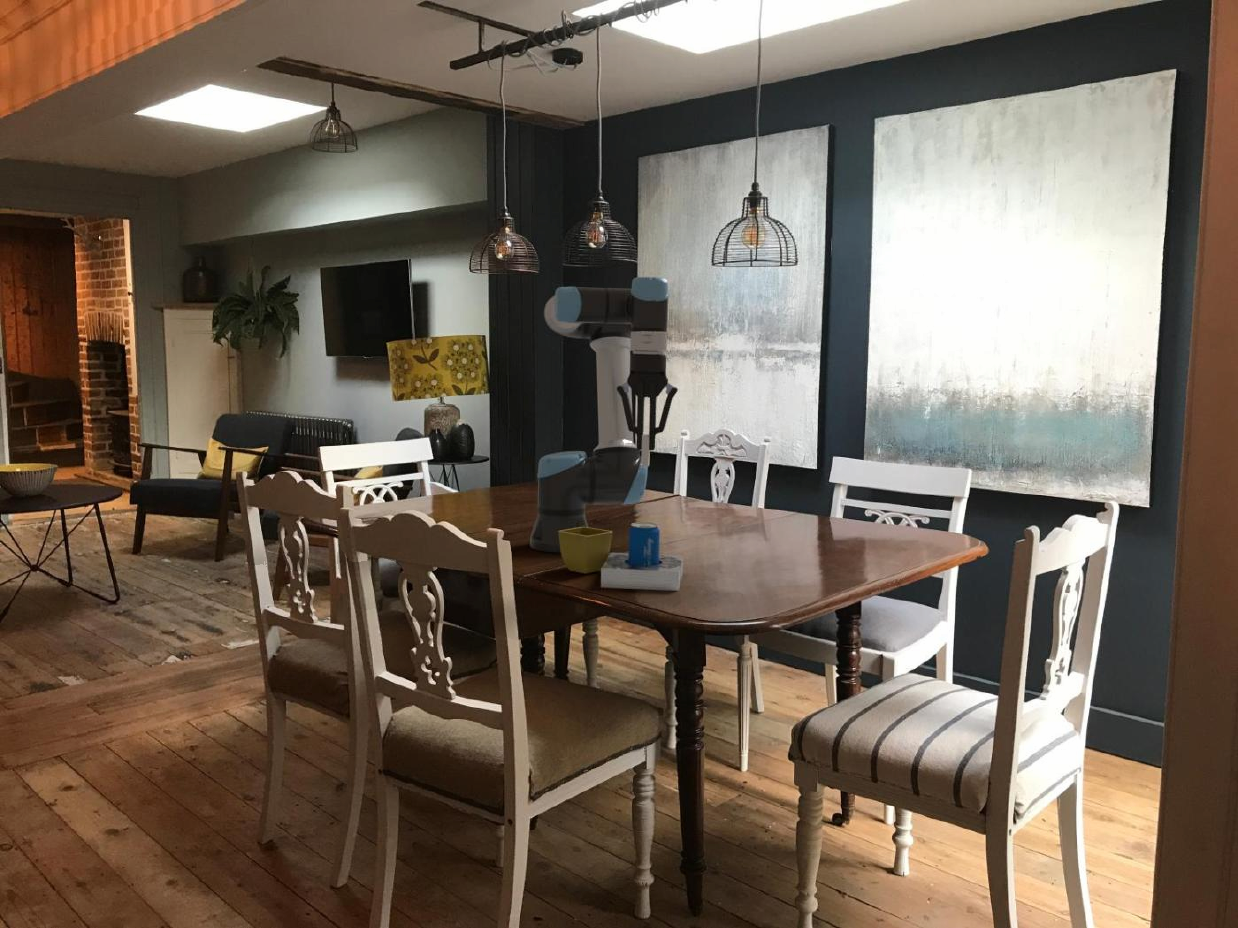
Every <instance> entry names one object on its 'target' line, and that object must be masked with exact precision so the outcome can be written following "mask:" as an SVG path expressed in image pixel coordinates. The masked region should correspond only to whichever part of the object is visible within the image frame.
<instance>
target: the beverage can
mask: <svg viewBox="0 0 1238 928" xmlns="http://www.w3.org/2000/svg"><path fill="white" fill-rule="evenodd" d="M630 526H631V527H630V528H629V531H628V553H629V557H628V564H631V565H636V566H653V565H659V555H660V537H661V536H660V535H661V533H660V531H661V530H660V529H659V527H658V526H659V525H658V524H657V523H653V522H633V523H631V525H630Z"/></svg>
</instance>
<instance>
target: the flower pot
mask: <svg viewBox="0 0 1238 928" xmlns="http://www.w3.org/2000/svg"><path fill="white" fill-rule="evenodd" d="M558 533H559V542H560V550H561V553H560V555H561V558H562V561H563V562H564V564H565V566H566V568H567V569H568V571H571V572H576V573H581V574H584V575H586V574H590V573H594V572H599V571H600V572H601V568H602V566H603V565H604V563H605V561H606V559H607V558H608V556H609V554H610V553H611V552H610V551H611V546H612V545H611V544H612V539H613V534H614V533H613V531H612V530H605V529H600V528H595V527H589V526H588V527H578V528H572V529H567V530H561V531H558Z"/></svg>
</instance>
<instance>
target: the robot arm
mask: <svg viewBox="0 0 1238 928" xmlns="http://www.w3.org/2000/svg"><path fill="white" fill-rule="evenodd" d="M631 282H632V283H631V288H619V287H618V288H616V287H615V288H614V287H613V288H612V287H607V288H606V287H604V288H603V287H583V286H581V287H580V286H579V287H578V286H577V287H576V286H573V285H572V286H560V287H559V286H558V287H557V288H556V290H555V292H554V293H555V294H554V295H553V296H551V297H550V298H549V299H548V300H547V302H546V304H545V305H544V309H543V317H544V318H543V319H544V321H545V323H546V325H547V326H548V327H549V329H550V330H552V332H555V333H558V334H559V335H561V336H565V337H567V338H572V339H573V338H575V339H589V346H590V348H591V349H592V350H593V351H594V352H595V353H596V355H595V356H596V357H595V358H596V388H597V390H596V392H597V420H598V422H597V424H598V426H597V427H598V444H597V446H596V447H595V448H594V449H593V452H592V456H590V457H588V455H587V453H586V452H585V451H584V450H583V451H582V450H570V451H568V450H567V451H562V452H561V451H560V452H555V453H550V454H546V455H544V456H542V457H541V458H540V459H539V462H538V467H537V468H538V469H537V489H538V490H537V515H536V516H537V517H536V520H535V523H534V526H533V529H532V531H531V535H530V538H529V539H530V540H529V541H530V542H529V545H530V548H531V549H533V550H535V551H540V552H544V553H546V552H547V553H560V554H561V550H560V542H559V533H558V531H561V530H567V529H572V528H578V527H589V525H588V521H587V519H586V505H621V506H624V505H634V504H638V503H639V502H640V501H642V499H643V496H644V494H645V491H646V487H647V479H648V470H649V469H648V468H649V466H650V462H651V461H650V458H651V457H650V454H651V452H650V451H655V448H656V436H657V435H658V434H660V433H663V432H664V431H665V429H666V424H667V420H668V417H669V413H670V410H671V406H672V402H673V399H674V397H675V395H676V394H677V393H678V391H679V389H678V387H676V386H674V385H672V384H671V383H670V382H669V378H668V377H667V372H666V371H667V356H666V354H664V353H665V352H667V351H668V350H667V346H668V345H667V343H668V310H669V309H668V308H669V307H668V304H669V297H670V294H669V282H668V280H667V279H666V278H665V277H655V276H637V277H635V278H633V280H632V281H631ZM631 352H632V353H631ZM665 388H666V389H665ZM664 389H665V393H666V395H667V396H666V398H665V401H664V405H663V409H662V412H661V415H660V416H661V417H660V420H659V423H658V426H657V398H658V396H660V395H661V393H662V392H663V391H664ZM632 392H633V393H634V395H635V396H636V397H637V398H636V401H637V403H636V404H637V407H636V409H637V412H636V414H637V415H636V425H635V422H634V416H633V402H632V401H633V397H632V394H633V393H632ZM645 398H649V415H648V416H649V422H648V424H649V425H648V434H646V433H645V434H644V428H645V427H644V426H645V425H644V422H645V421H644V420H645ZM634 434H636V444H635V443H634ZM640 451H641V452H640Z"/></svg>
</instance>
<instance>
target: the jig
mask: <svg viewBox="0 0 1238 928" xmlns="http://www.w3.org/2000/svg"><path fill="white" fill-rule="evenodd" d="M628 557H629V552H609V555H608V558H607V559H606V561H605V563H604V565H603V566H602V568H601V570H600V573H601V574H600V588H609V589H629V590H631V589H632V590H647V591H649V590H650V591H651V590H653V591H673V592H679V590H680V587H681V581H682V579H683V578H682V577H683V566H684V562H683V561H684V556H683V555H677V554H676V555H675V554H659V565H653V566H636V565H631V564H628Z"/></svg>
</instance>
